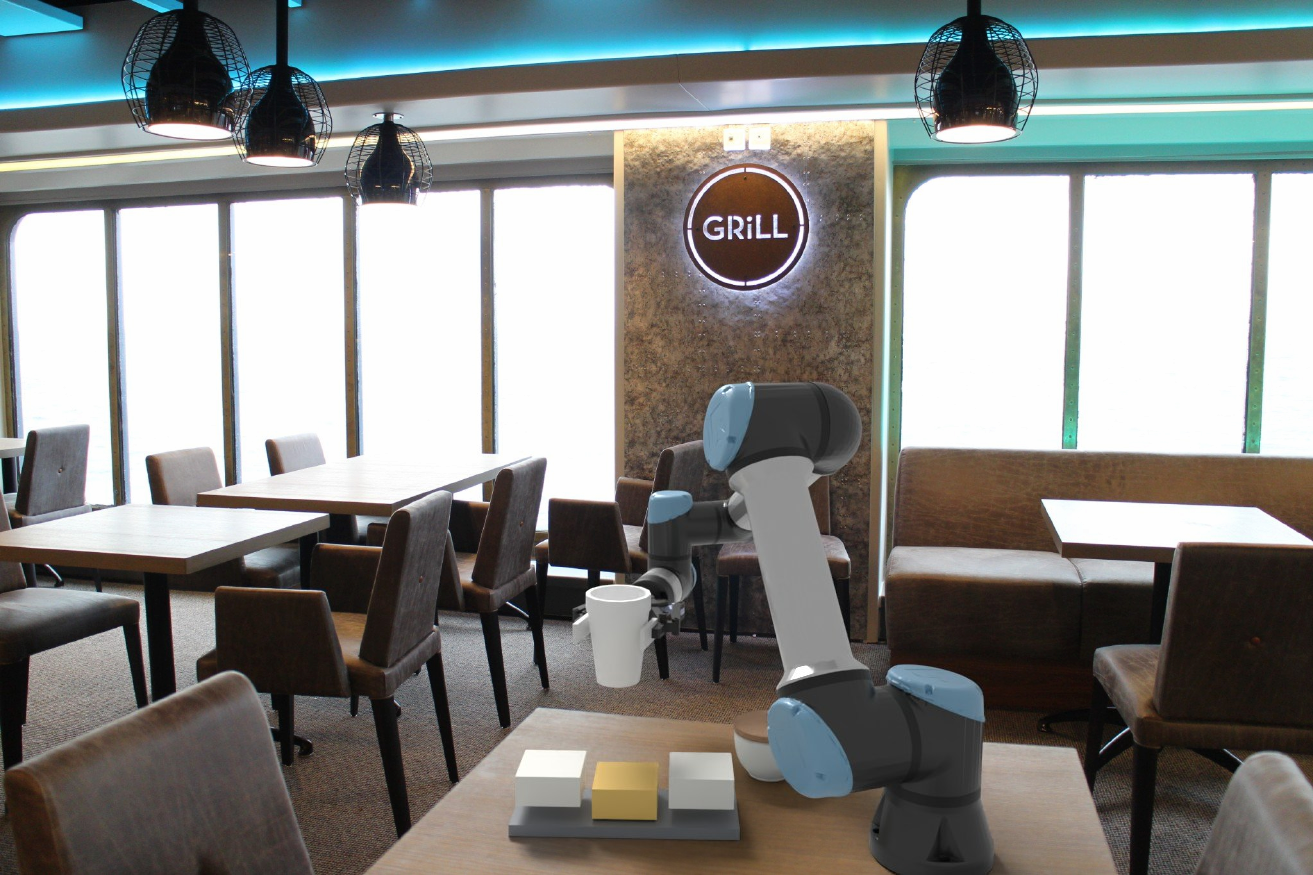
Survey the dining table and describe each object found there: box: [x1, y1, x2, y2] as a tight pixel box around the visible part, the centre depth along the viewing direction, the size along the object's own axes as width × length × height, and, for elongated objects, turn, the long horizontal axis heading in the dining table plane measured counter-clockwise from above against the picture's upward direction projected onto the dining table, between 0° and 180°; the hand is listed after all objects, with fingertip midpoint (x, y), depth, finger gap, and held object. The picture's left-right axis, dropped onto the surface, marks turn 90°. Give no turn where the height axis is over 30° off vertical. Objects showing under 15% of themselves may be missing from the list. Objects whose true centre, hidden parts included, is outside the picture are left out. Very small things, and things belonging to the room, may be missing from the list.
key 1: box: [514, 749, 588, 807], centre depth 132 cm, size 8×8×4 cm
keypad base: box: [508, 787, 741, 841], centre depth 132 cm, size 30×11×2 cm, turn 88°
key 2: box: [668, 751, 735, 810], centre depth 132 cm, size 8×8×4 cm
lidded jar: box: [733, 709, 786, 783], centre depth 146 cm, size 11×11×9 cm
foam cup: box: [585, 584, 651, 689], centre depth 142 cm, size 10×9×13 cm
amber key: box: [591, 761, 660, 820], centre depth 132 cm, size 8×8×4 cm
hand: (608, 636), depth 138 cm, fingers closed on foam cup, 9 cm apart
